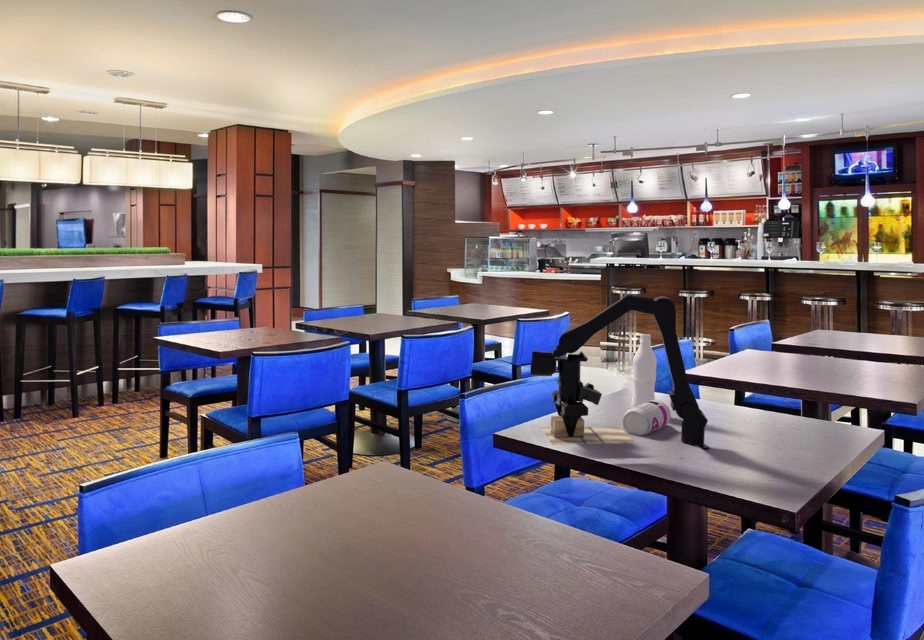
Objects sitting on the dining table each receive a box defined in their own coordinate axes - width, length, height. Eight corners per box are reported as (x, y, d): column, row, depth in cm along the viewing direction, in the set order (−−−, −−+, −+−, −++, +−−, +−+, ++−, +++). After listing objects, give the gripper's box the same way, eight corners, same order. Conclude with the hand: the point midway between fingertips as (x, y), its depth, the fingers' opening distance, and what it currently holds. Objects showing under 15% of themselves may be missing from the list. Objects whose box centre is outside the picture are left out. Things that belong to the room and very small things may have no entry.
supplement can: (677, 411, 191) (654, 421, 179) (662, 433, 194) (638, 445, 183) (653, 393, 195) (630, 402, 183) (639, 415, 198) (615, 425, 187)
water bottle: (657, 417, 206) (660, 336, 203) (634, 417, 206) (636, 336, 204) (651, 411, 213) (654, 333, 211) (629, 411, 213) (631, 333, 211)
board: (635, 447, 175) (635, 442, 175) (551, 448, 174) (551, 444, 174) (618, 430, 191) (618, 426, 191) (541, 431, 190) (541, 427, 190)
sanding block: (583, 436, 180) (584, 420, 180) (554, 437, 180) (554, 420, 179) (579, 431, 185) (580, 415, 184) (550, 431, 184) (551, 415, 184)
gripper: (608, 383, 172) (607, 443, 173) (590, 370, 190) (589, 424, 192) (565, 384, 171) (564, 444, 173) (551, 370, 190) (550, 425, 191)
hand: (568, 433), depth 182 cm, fingers closed on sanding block, 5 cm apart
